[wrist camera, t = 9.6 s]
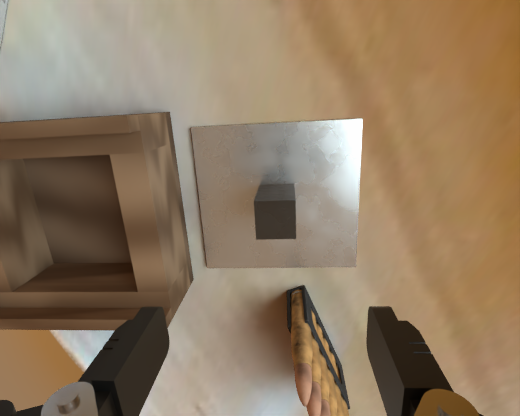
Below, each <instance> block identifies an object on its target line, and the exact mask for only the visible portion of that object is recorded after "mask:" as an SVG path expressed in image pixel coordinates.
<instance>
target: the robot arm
mask: <svg viewBox="0 0 520 416" xmlns="http://www.w3.org/2000/svg"><path fill="white" fill-rule="evenodd" d="M168 349H169V334H168V329H167V324H166V318H165V313H164V309H163V307H142V308H141V309H140V310H139V311H138V313H137V314H136V316H135V317H134V319H133V320H127V321H126V322H125V323H123V324H122V325H121V326H119V327H118V328H117V329H116V330H115V332H114V333H113V334H112V336H111V337H110V338H109V341H107V342H106V344H105V345H104V347H103V349H102V350H101V351H100V352H99V353H98V355H97V356H96V357H95V359H94V360H93V362H92V363H91V364H90V366H89V367H88V368H87V370H86V371H85V372H84V374H83V375H82V377H81V378H80V380H79V381H78V382H75V383H71V384H69V385H66V386H64V387H62V388H61V389H59V390H58V391H56V392H55V393H54V394H53V395H52V396H51V397H50V398H49V399H48V400H47V401H46V402H45V404H44V405H41V406H37V407H33V408H29V409H25V410H21V411H17V412H16V410H15V408H14V405H13V403H12V402H10V401H8V400H0V416H139V414H140V412H141V410H142V407H143V405H144V403H145V401H146V399H147V397H148V395H149V392H150V390H151V388H152V386H153V384H154V382H155V379H156V377H157V375H158V373H159V371H160V369H161V366H162V364H163V362H164V360H165V358H166V356H167V353H168ZM367 352H368V356H369V360H370V363H371V366H372V369H373V372H374V376H375V379H376V382H377V385H378V388H379V391H380V394H381V398H382V401H383V404H384V407H385V410H386V413H387V416H483V415H481V414H479V413H478V412H477V410H476V409H475V408H474V406H473V405H472V404H471V403H470V402H468V401H467V400H466V399H465V398H463V397H462V396H460V395H458V394H456V393H454V391H453V390H452V388H451V386H450V384H449V383H448V381H447V379H446V377H445V376H444V374H443V372H442V370H441V369H440V367H439V365H438V363H437V362H436V360H435V358H434V356H433V355H432V354H431V351H430V349H429V348H428V346H427V345H426V344H425V341H424V339H423V337H422V335H421V334H420V332H419V330H417V329H416V328H415V327H414V326H413V325H412V324H410V323H409V322H408V321H398V320H397V318H396V316H395V314H394V312H393V310H392V308H391V307H389V306H386V307H369V310H368V324H367Z"/></svg>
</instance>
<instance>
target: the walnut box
mask: <svg viewBox="0 0 520 416" xmlns="http://www.w3.org/2000/svg"><path fill="white" fill-rule="evenodd" d="M192 281H193V274H192V266H191V259H190V252H189V245H188V238H187V231H186V224H185V217H184V210H183V203H182V196H181V188H180V181H179V174H178V167H177V160H176V153H175V146H174V139H173V132H172V125H171V117H170V112H163V113H147V114H130V115H113V116H97V117H80V118H64V119H47V120H30V121H14V122H0V329H22V330H23V329H25V330H116V329H117V328H118V327H119V326H121V325H122V324H123V323H125V322H126V321H127V320H133V319H134V317H135V316H136V314H137V313H138V311H139V310H140V309H141V308H142V307H163V309H164V313H165V318H166V324H167V328H168V326H169V324H170V322H171V320H172V319H173V317H174V315H175V313H176V311H177V309H178V307H179V305H180V304H181V302H182V300H183V298H184V296H185V294H186V292H187V290H188V289H189V287H190V285H191V283H192Z"/></svg>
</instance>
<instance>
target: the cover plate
mask: <svg viewBox="0 0 520 416" xmlns="http://www.w3.org/2000/svg"><path fill="white" fill-rule="evenodd" d="M362 120H363V119H362V118H361V119H342V120H322V121H302V122H282V123H262V124H243V125H223V126H203V127H191V133H192V142H193V150H194V159H195V167H196V176H197V184H198V193H199V202H200V210H201V219H202V227H203V236H204V244H205V253H206V261H207V268H294V267H356V255H357V232H358V210H359V187H360V165H361V142H362Z"/></svg>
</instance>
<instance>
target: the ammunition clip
mask: <svg viewBox="0 0 520 416" xmlns="http://www.w3.org/2000/svg"><path fill="white" fill-rule="evenodd" d="M287 320H288V329H289V331H290V333H291V351H292V358H293V361H294V370H295V382H296V388H297V392H298V395H299V398H300V401H301V402H302V404H303V406H306V407H307V411H308V414H309V416H349V413H348V409H350V406H349V401H348V395H347V390H346V385H345V380H344V375H343V370H342V365H341V363H340V361H339V359H338V357H337V354H336V352H335V350H334V348H333V346H332V344H331V341H330V339H329V337H328V335H327V333H326V331H325V329H324V326H323V324H322V322H321V320H320V318H319V316H318V313H317V311H316V309H315V307H314V305H313V303H312V301H311V298H310V296H309V294H308V292H307V290H306V288H305V285H303V286H300V287H297V288H294V289H291V290H288V291H287Z"/></svg>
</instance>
